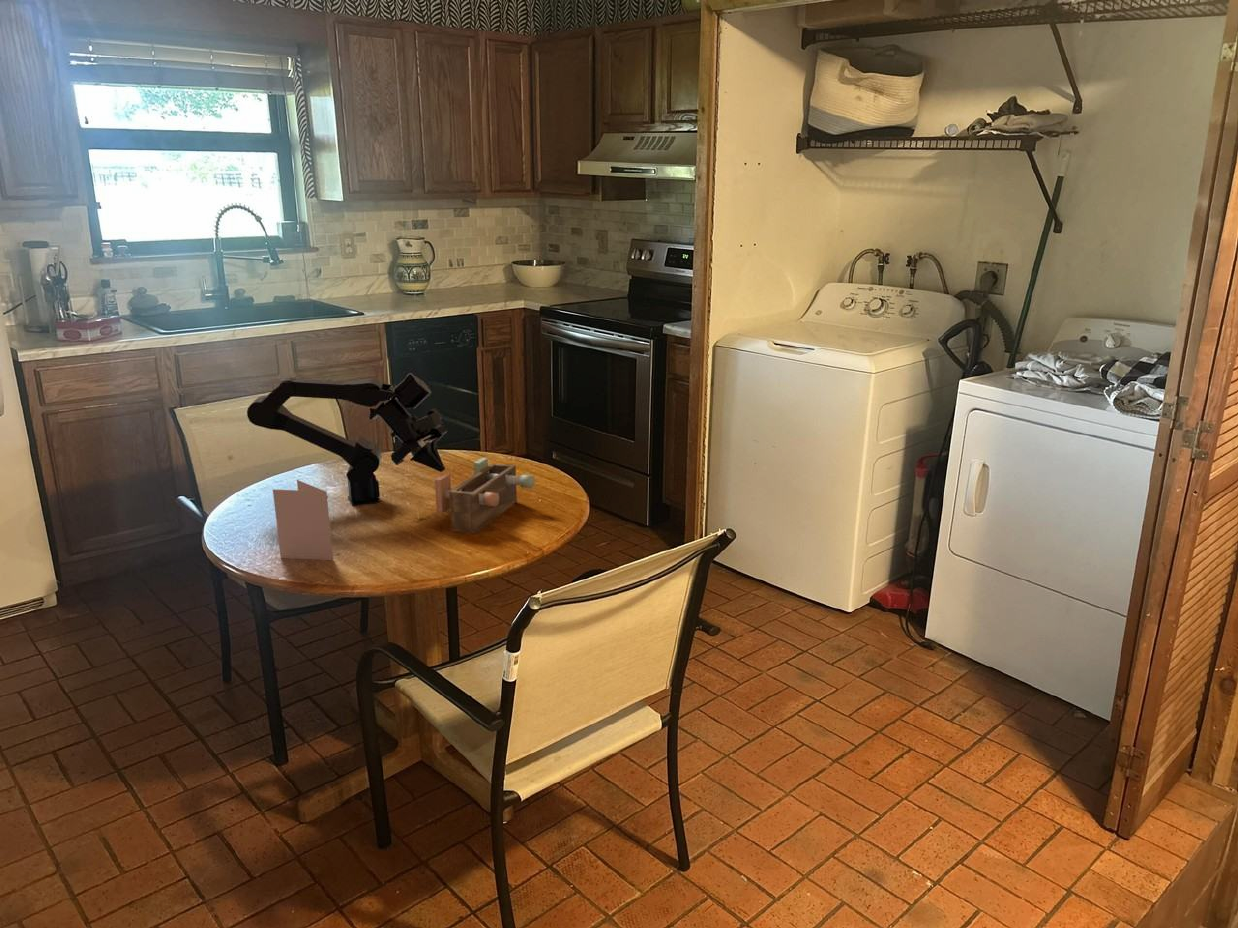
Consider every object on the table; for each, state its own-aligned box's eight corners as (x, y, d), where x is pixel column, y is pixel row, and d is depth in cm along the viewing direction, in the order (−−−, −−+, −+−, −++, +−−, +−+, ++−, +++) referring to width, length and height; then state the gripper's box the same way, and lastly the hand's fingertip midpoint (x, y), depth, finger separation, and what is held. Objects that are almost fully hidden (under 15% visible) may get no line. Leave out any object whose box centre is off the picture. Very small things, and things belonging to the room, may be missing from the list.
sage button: (475, 494, 220) (473, 462, 217) (483, 488, 224) (482, 457, 221) (528, 500, 215) (527, 468, 213) (536, 495, 219) (535, 463, 217)
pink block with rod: (436, 512, 208) (434, 479, 205) (446, 506, 212) (444, 473, 209) (492, 519, 203) (491, 485, 201) (501, 513, 207) (499, 479, 205)
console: (451, 530, 206) (449, 491, 203) (494, 499, 226) (492, 463, 223) (475, 533, 204) (473, 494, 201) (516, 501, 224) (515, 465, 221)
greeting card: (337, 558, 190) (330, 490, 186) (304, 569, 185) (296, 499, 181) (307, 544, 198) (300, 478, 193) (275, 554, 192) (267, 487, 188)
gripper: (400, 409, 208) (446, 461, 208) (438, 392, 225) (481, 440, 225) (371, 439, 212) (416, 490, 212) (411, 420, 229) (452, 467, 229)
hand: (443, 470), depth 220 cm, fingers closed
